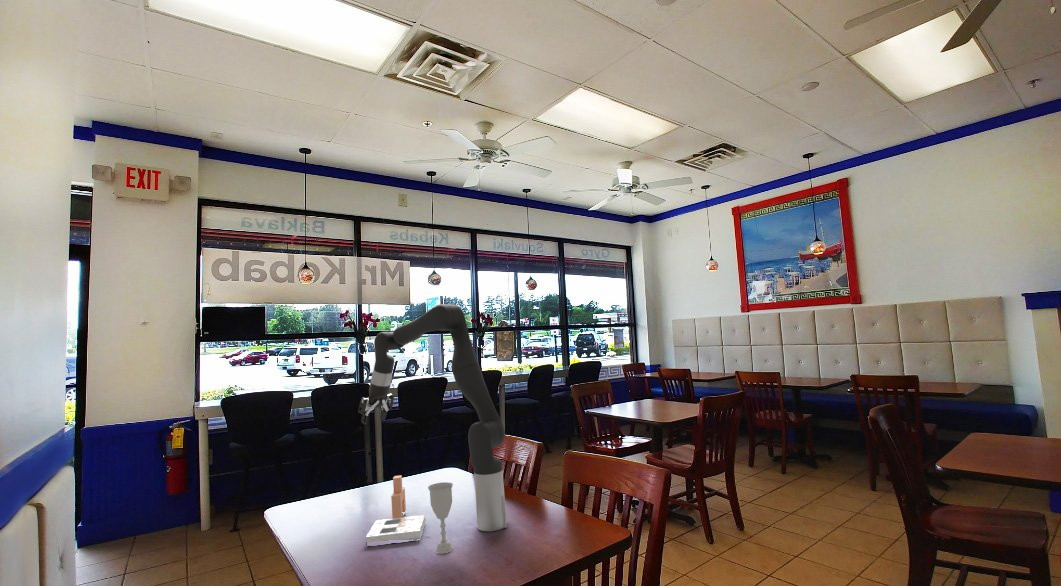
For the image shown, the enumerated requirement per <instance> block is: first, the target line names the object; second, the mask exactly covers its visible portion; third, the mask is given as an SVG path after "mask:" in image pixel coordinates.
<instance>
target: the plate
mask: <svg viewBox="0 0 1061 586" xmlns="http://www.w3.org/2000/svg"><path fill="white" fill-rule="evenodd" d="M425 522H426V515H425V514H420V515H411V516H403V517H401V518H393V519H392V518H386V519H385V518H384V519H377V520H375V521H374V523H373V525H372V526H371V527H370V529H369V531H368V533H367V534H366V536H365V543H366V542H374V541H388V540H412V539H413V540H417V539H420V538H421V539H422V537H421V535H422V536H423V534H422V532H423V533H424V531H423V529H424V530H425V528H424V525H425V526H426V524H425Z"/></svg>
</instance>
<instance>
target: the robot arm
mask: <svg viewBox="0 0 1061 586" xmlns="http://www.w3.org/2000/svg"><path fill="white" fill-rule="evenodd" d="M464 313H465V312H464V311H463V309H462V307H461V306H459V304H458V305H457V304H453V303H452V304H451V303H450V304H449V303H446V304H443V303H442V304H436V305H435V306H433V307H431V308H430V309H429V310H428V311H426V312H425V313H423V314H422V315H420V316H419V317H417V318H415V319H413V320H412V321H409V322H407V323H404V324H402V325H399V326H398V327H396V328H395V329H394V330H393V331H381V332H379V333H377V335H376V336H375V337H374V342H373V346H374V358H375V361H374V366H373V371H372V374H371V379H370V384H369V390H368V394H369V395H368V397H363V396H362V397H361V398H360V401H359V406H358V410H357V412H358V413H359V414H360V415H361V419H360V421H361V424H363V425H367V423H368V419H369V418H368V417H369V414H370V413H371V412H373V410H375V409H377V408H381V412H380V416H379V419H380V420H381V421H385V420H386V418H387V415H388V411H389V410H392V409H393V405H394V399H395V395H394V394H392V393H391V392H390V389H391V384H392V379H393V371H394V370H393V369H394V365H395V358H394V357H393V356H392V355H389V354H388V351H395V350H399V349H402V348H403V347H405V346H406V345H407V344H409V343H413V342H415V341H417V340H419V339H420V338H421V337H422V336H423V335H424V334H426V333H428V332H436V331H441V332H442V331H443V332H445V331H449V334H450V336H451V339H452V343H453V354H452V359H451V370H452V371H451V372H452V375H453V378H454V381H455V383H456V386H457V388H458V390H459V391H460V392H461V394H462V395H463V396H464V397H465V399H466V400H467V401H469V402H470V404H471V405H472V406H473V408H474V409H475V411H476V414H477V417H478V419H479V421H477V422H474V423H473V424H471V425H470V427H469V429H468V436H467V438H468V439H467V440H468V449H469V450H468V451H469V457H470V458H469V459H470V462H471V465H472V467H473V475H474V490H475V491H474V492H475V506H476V507H475V508H476V523H477V529H478V530H480V532H481V531H482V532H495V531H500V530H502V529H507V528H508V523H507V511H506V509H507V508H506V497H505V487H504V474H503V463H502V460H501V459H499V458H495V457H494V453H493V449H494V448H496V447H499V446H501V445H502V444H503V442H504V441H505V436H506V435H505V434H506V433H505V428H504V425H503V422H502V421H501V417H500V415H499V413H498V411H497V410H496V409H497V408H495V405H494V402H493V400H492V398H491V396H490V392H489V390H488V387H487V384H486V382H485V379H484V375H483V373H482V370H481V367H480V364H479V362H478V359H477V356H476V353H475V350H474V346H473V344H472V341H471V337H470V333H469V329H468V325H467V321H466V320H467V319H466V317H465V314H464Z"/></svg>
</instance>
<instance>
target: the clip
mask: <svg viewBox="0 0 1061 586" xmlns="http://www.w3.org/2000/svg"><path fill="white" fill-rule="evenodd" d="M392 479H393V480H392V484H393V485H392V486H393V487H392V488H393V492H392V494H391V496H390V497H391V499H390V500H391V517H392V518H391V519H393V518H401V517H404V515H403V513H402V512H405V511H406V512H407V507H406V506H407V505H406V490H405V489H406V487H403V476H402V475H394V476H393V477H392Z"/></svg>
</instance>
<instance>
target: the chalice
mask: <svg viewBox="0 0 1061 586" xmlns="http://www.w3.org/2000/svg"><path fill="white" fill-rule="evenodd" d="M453 485H454V484H453V483H452V482H444V481H443V482H437V483H432V484H430V485H429V486H428V487H427V490H429V500H430V501H429V502H430V507H431V509H432V512H433V513H434V514H435V517H436V518H437V519H438V520H440V526H439V527H440V528H441V531H440V533H439V534H440V535H441V539H440V541H438V542H437V546H436V550H435V551H436V552H438V553H446V554H449V553H451V552H453V550H454V547H453V546H452V544H451V541H450V540H449V539H447V538H446V534H447V531H446V523H445V520H446V519H447V518H448V517H449V515H450V514H449V513H450V511H451V507H452V504H453V491H452V488H453ZM452 549H453V550H452ZM450 551H451V552H450ZM436 552H435V553H436ZM448 552H449V553H448Z"/></svg>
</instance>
